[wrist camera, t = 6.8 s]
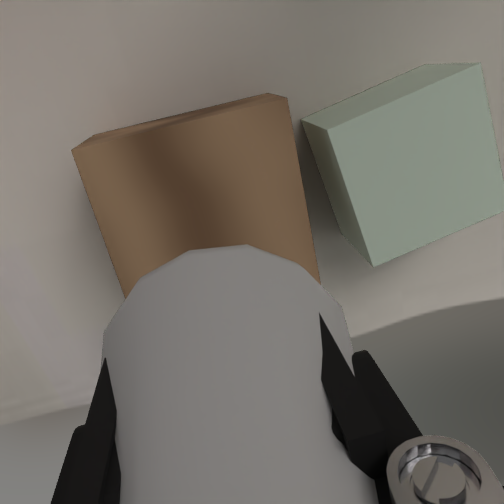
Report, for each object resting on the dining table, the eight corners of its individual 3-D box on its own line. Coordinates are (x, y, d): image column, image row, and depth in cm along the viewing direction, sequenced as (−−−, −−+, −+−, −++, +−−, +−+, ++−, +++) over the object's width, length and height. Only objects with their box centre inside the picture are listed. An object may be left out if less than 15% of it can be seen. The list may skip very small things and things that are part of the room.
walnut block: (267, 93, 24) (287, 98, 19) (298, 252, 27) (321, 289, 22) (94, 134, 23) (71, 150, 19) (147, 291, 27) (139, 336, 22)
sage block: (424, 64, 24) (480, 62, 20) (453, 185, 27) (509, 209, 22) (300, 119, 24) (327, 130, 20) (341, 234, 27) (373, 267, 22)
